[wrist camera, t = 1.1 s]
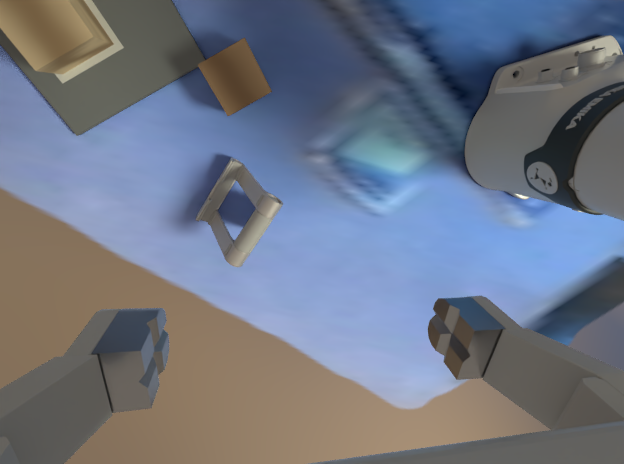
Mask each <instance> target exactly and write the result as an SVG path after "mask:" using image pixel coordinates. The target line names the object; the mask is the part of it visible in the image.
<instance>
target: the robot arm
mask: <svg viewBox="0 0 624 464" xmlns="http://www.w3.org/2000/svg"><path fill="white" fill-rule="evenodd" d="M514 72H515V76H514V77H513V73H514ZM465 161H466V165H467V168H468V171H469V173H470V175H471V176H472V178H473V179H474V180H475V181H476V182H477V183H478V184H480V185H481V186H483V187H485V188H488V189H491V190H499V191H506V192H508V193H509V194H511V195H512V196H514V197H516V198H520V199H528V198H530V197H531V198H535V199H539V200H543V201H547V202H552V203H556V204H560V205H563V206H566V207H569V208H572V210H575V211H578V212H585V213H589V214H594V215H603V214H605V215H608V216H611V217H614V218H617V219H620V220H623V221H624V54H623V53H622V50H621V48H620V46H619V44H618V42H617V41H616V40H615V39H614V37H612V36H600V37H597V38H593V39H590V40H587V41H583V42H580V43H577V44H574V45H571V46H567V47H564V48H561V49H558V50H554V51H551V52H548V53H545V54H542V55H538V56H535V57H532V58H529V59H525V60H522V61H519V62H516V63H512V64H509V65H506V66H503V67H501V68H500V69H498V71H497V72H496V73H495V75H494V78H493V80H492V83H491V86H490V89H489V93H488V96H487V98H486V99H485V101H484V103H483V104H482V105H481V107H480V108H479V110H478V111H477V113H476V115H475V116H474V118H473V120H472V122H471V125H470V127H469V130H468V133H467V137H466V142H465ZM433 310H434V312H435V314H436V315H435V316H434V317H433V318H432V319H431V320H430V322H429V326H428V336H429V340H430V342H431V344H432V346H433V347H434V349H435V350H436V351H437V352H439V353H441V354H442V355H444V363H445V364H446V366H447V367H448V368H449V370H450V371H451V372H452V374H453V375H454V377H455V378H456V379H457V380H460V379H476V378H483V380H484V381H485V382H487V383H488V384H490V385H491V386H492V387H493V388H495V389H496V390H498V391H499V392H501V393H502V394H503V395H504V396H506V397H507V398H509V399H510V400H511V401H513V402H514V403H515V404H517V405H518V406H519V407H521V408H522V409H524V410H525V411H526V412H528V413H529V414H531V415H532V416H533V417H534V418H536V419H537V420H539V421H540V422H541V423H543V424H544V425H545V426H547V427H548V428H550V429H551V430H549V431H542V432H535V433H528V434H520V435H513V436H506V437H499V438H492V439H484V440H477V441H470V442H463V443H456V444H449V445H441V446H434V447H427V448H420V449H413V450H405V451H398V452H391V453H383V454H376V455H369V456H362V457H354V458H347V459H339V460H332V461H325V462H318V463H310V464H624V371H623V370H620V369H618V368H616V367H614V366H611V365H609V364H607V363H605V362H602V361H600V360H598V359H596V358H593V357H591V356H589V355H586V354H584V353H582V352H579V351H577V350H575V349H573V348H571V347H568V346H566V345H564V344H562V343H559V342H557V341H555V340H552V339H550V338H548V337H546V336H543V335H541V334H539V333H537V332H534V331H532V330H530V329H528V328H524V329H523V328H522V327H520V326H519V325H518V324H517V323H516V322H515V321H513V320H512V319H511V318H510V317H509V316H507V315H506V314H505V313H504V312H503V311H502V310H500V309H499V308H498V307H497V306H496V305H495V304H493V303H492V302H491V301H490V300H489V299H487V298H486V297H483V296H470V297H462V298H438V300H437V301H436V302H435V305H434V308H433ZM165 323H166V315H165V311H164V310H163V309H162V308H152V309H151V308H150V309H149V308H146V309H105V310H100V311H98V312H96V313H95V315H94V316H93V317H92V319H91V320H90V321H89V322H88V324H87V325H86V326H85V328H84V329H83V331H82V332H81V333H80V334H79V336H78V337H77V338H76V340H75V341H74V343H73V344H72V345H71V346H70V348H69V349H68V350H67V352H66V353H65V354H64V356H63V357H55V358H53V359H51V360H49V361H48V362H46V363H45V364H42V365H41V366H39V367H37V368H36V369H34V370H32V371H30V372H29V373H27V374H25V375H24V376H22V377H20V378H18V379H17V380H15V381H13V382H11V383H10V384H8V385H7V386H5V387H3V388H1V389H0V464H64V463H65V462H66V461H67V460H68V459H69V458H70V457H71V456H72V455H73V454H74V453H75V452H76V451H77V450H78V449H79V448H80V447H81V446H82V445H83V444H84V443H85V442H86V441H87V440H88V439H89V438H90V437H91V436H92V435H93V434H94V433H95V432H96V431H97V430H98V429H99V428H100V427H101V426H102V425H103V424H104V423H105V422H106V421H107V420H108V419H109V418H110V417H111V416H112V413H116V412H124V411H132V410H140V409H148V408H152V405H153V402H154V399H155V396H156V393H157V390H158V387H159V378H158V375H159V374H160V373H161V372H163V370H165V366H166V363H167V359H168V353H169V336H168V333H167V332H165V331H164V330H163V328H164V326H165Z"/></svg>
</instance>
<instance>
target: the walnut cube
mask: <svg viewBox="0 0 624 464" xmlns="http://www.w3.org/2000/svg"><path fill="white" fill-rule="evenodd" d="M198 67H199V68H200V70H201V72H202V73H203V75H204V77H205V78H206V80H207V82H208V84H209V85H210V87H211V89H212V90H213V92H214V94H215V95H216V97H217V99H218V100H219V102H220V104H221V106H222V107H223V109H224V111H225V112H226V114H227V116H230V115H231V114H233V113H235V112H237V111H238V110H240V109H242V108H244V107H246V106H247V105H249V104H251V103H253V102H254V101H256V100H258V99H260V98H262V97H263V96H265V95H267V94H269V93H270V92H272V91H271V89H270V87H269V85H268V83H267V81H266V79H265V77H264V75H263V73H262V71H261V69H260V67H259V65H258V63H257V61H256V59H255V57H254V55H253V53H252V51H251V49H250V47H249V45H248V43H247V41H246V39H245V38H243V39H241V40H240V41H238V42H236V43H234V44H233V45H231V46H229V47H227V48H226V49H224V50H222V51H221V52H219V53H217V54H215V55H214V56H212V57H210V58H208V59H207V60H205V61H203V62H201V63H200V64H198Z"/></svg>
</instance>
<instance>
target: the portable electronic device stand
mask: <svg viewBox="0 0 624 464" xmlns="http://www.w3.org/2000/svg"><path fill="white" fill-rule="evenodd" d="M235 181H238V183H239V184H240V186H241V187H242V189H243V190H244V192H245V193H246V195H247V196H248V198H249V199H250V200H251V202H252V203H253V205H254V206H255V208H256V209H255V211H254V212H253V214H252V215H251V217H250V218H249V220H248V222H247V223H246V225H245V226H244V228H243V229H242V231H241V232H240V234H239V235H238V237H237V238H236V240H233V239H232V237H231V236H230V234H229V232H228V230H227V228H226V226H225V224H224V222H223V220H222V218H221V216H220V214H219V212H218V209H219V207H220V206H221V204H222V202H223V201H224V199H225V197H226V196H227V194H228V193H229V191H230V189H231V188H232V186H233V184H234V183H235ZM282 205H283V203H282V201H281V200H280V199H278V198H277V197H275V196H274V195H272V194H270V193H268V192H266V191H265V190H264V189H263V188H262V187H261V186H260V184H259V183H258V182H257V180H256V179H255V178H254V177H253V175H252V174H251V173H250V172H249V170H248V169H247V168H246V166H245V165H244V164H243V163H241V162H240V161H238V160H237V159H235V158H231V159H230V160H229V162H228V164H227V165H226V167H225V169H224V170H223V172H222V174H221V175H220V177H219V179H218V180H217V182H216V184H215V186H214V187H213V189H212V191H211V192H210V194H209V196H208V197H207V199H206V201H205V202H204V204H203V206H202V207H201V209H200V211H199V213H198V214H197V216H196V220H197V221H199V220H203V221H206V222H208V224H209V225H210V226H211V228H212V231H213V233H214V235H215V237H216V240H217V242H218V244H219V246H220V249H221V251H222V253H223V255H224V257H225V259H226V261H227V262H228V263H229V264H231V265H232V266H235V267H241V266H242V265H243V263H244V262H245V260H246V259H247V257H248V256H249V254H250V253H251V251H252V250H253V248H254V247H255V245H256V244H257V242H258V241H259V240H260V238H261V237H262V235H263V234H264V232H265V231H266V229H267V228H268V226H269V225H270V223H271V222H272V220H273V219H274V217H275V216H276V214H277V213H278V211H279V210H280V208H281V207H282Z"/></svg>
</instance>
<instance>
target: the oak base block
mask: <svg viewBox="0 0 624 464" xmlns="http://www.w3.org/2000/svg"><path fill="white" fill-rule="evenodd" d="M0 28H1V30H2V31H3V32H4V33H5V34H6V36H7V37H8V38H9V39H10V41H11V42H12V43H13V44H14V45H15V47H16V48H17V49H18V50H19V52H20V53H21V54H22V55H23V56H24V58H25V59H26V60H27V61H28V63H29V64H30V65H31V66H32V67H33V69H34V70H35V71H39V72H47V73H55V74H64V73H66V72H68V71H69V70H71V69H73V68H74V67H76V66H78V65H80V64H81V63H83V62H85V61H86V60H88V59H90V58H92V57H93V56H95V55H97V54H98V53H100V52H102V51H103V50H105V49H107V48H109V47H110V46H112V45H114V43H113V42H112V41H111V39H110V38H109V36H108V35H107V33H106V32H105V30H104V29H103V27H102V26H101V24H100V23H99V22H98V20H97V19H96V17H95V16H94V14H93V13H92V11H91V10H90V8H89V7H88V5H87V4H86V3H85V1H84V0H0Z"/></svg>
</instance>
